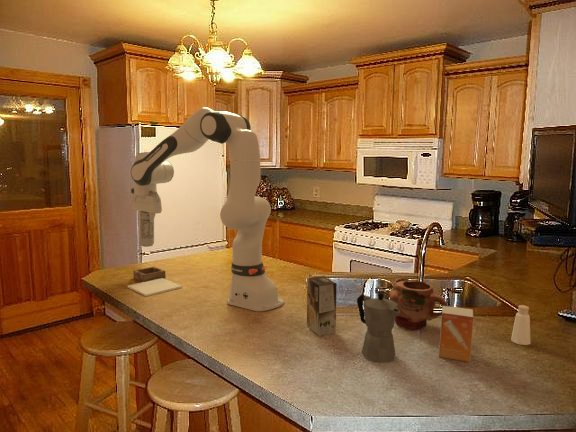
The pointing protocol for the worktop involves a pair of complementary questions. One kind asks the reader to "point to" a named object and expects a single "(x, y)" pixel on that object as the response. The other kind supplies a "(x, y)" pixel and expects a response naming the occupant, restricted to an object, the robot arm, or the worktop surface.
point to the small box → (456, 333)
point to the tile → (154, 287)
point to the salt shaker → (521, 326)
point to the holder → (149, 274)
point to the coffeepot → (378, 327)
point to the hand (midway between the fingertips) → (147, 221)
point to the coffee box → (321, 305)
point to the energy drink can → (146, 230)
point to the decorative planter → (415, 304)
